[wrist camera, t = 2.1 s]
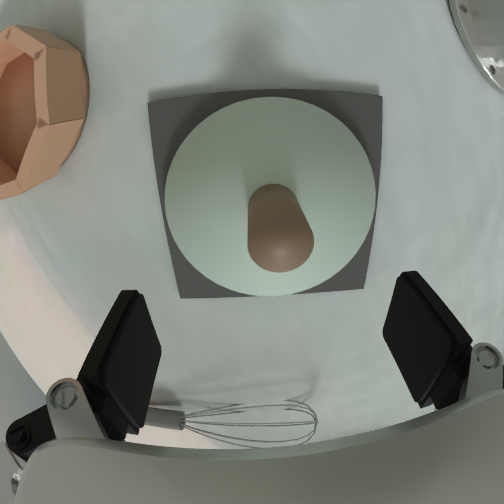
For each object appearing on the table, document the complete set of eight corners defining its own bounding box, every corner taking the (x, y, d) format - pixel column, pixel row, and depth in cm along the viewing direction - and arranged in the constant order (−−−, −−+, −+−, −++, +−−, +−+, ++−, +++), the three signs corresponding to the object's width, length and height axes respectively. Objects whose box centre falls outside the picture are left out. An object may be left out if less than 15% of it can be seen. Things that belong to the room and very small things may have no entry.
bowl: (88, 14, 11) (50, -1, 7) (98, 163, 17) (59, 183, 13) (-10, 71, 11) (-48, 76, 7) (3, 190, 17) (-33, 211, 13)
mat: (379, 96, 15) (382, 96, 15) (361, 285, 22) (363, 288, 22) (149, 103, 15) (147, 102, 15) (181, 295, 23) (180, 298, 22)
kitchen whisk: (74, 383, 31) (60, 417, 26) (316, 386, 30) (324, 431, 25) (93, 405, 34) (83, 437, 29) (313, 409, 33) (319, 448, 27)
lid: (375, 102, 15) (423, 105, 10) (358, 284, 22) (383, 333, 17) (155, 108, 15) (115, 111, 10) (185, 293, 22) (170, 346, 17)
